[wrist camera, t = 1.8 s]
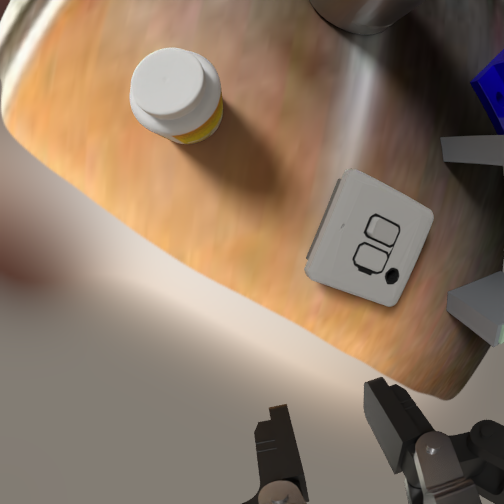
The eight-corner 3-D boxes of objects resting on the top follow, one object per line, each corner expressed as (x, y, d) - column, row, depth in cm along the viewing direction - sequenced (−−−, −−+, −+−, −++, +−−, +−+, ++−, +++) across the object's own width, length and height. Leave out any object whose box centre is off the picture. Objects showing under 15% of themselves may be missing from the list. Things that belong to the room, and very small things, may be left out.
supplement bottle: (232, 92, 23) (235, 47, 13) (210, 152, 25) (199, 143, 15) (170, 75, 22) (139, 27, 13) (148, 135, 24) (102, 118, 14)
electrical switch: (395, 310, 25) (314, 287, 22) (365, 287, 30) (288, 263, 27) (438, 214, 23) (364, 167, 20) (402, 202, 28) (330, 162, 25)
